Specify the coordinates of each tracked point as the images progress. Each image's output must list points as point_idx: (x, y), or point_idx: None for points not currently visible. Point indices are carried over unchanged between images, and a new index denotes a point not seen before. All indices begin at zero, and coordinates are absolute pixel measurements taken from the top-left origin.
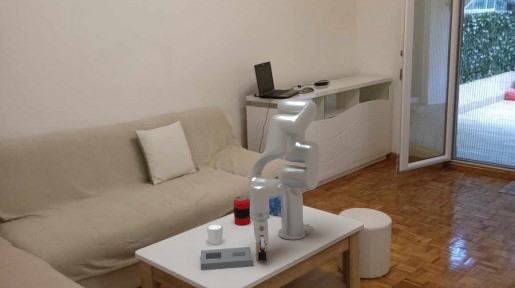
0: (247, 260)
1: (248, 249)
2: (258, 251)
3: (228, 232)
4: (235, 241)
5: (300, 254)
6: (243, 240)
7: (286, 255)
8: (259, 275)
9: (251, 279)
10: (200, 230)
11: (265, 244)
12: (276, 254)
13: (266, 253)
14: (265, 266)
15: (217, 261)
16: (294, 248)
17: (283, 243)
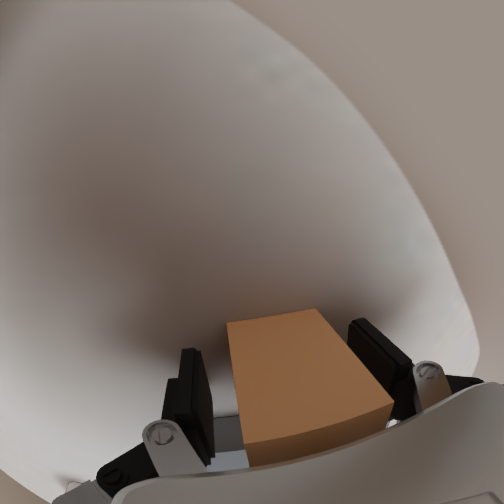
0: (386, 427)
1: (218, 460)
2: (389, 418)
3: (3, 445)
4: (57, 452)
5: (224, 13)
6: (31, 423)
7: (233, 121)
8: (463, 323)
9: (471, 348)
10: (39, 492)
11: (376, 417)
12: (202, 223)
13: (343, 343)
14: (402, 308)
15: None
16: (94, 60)
17: (2, 168)
